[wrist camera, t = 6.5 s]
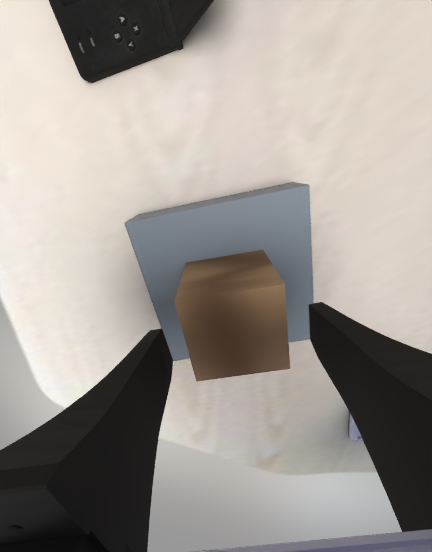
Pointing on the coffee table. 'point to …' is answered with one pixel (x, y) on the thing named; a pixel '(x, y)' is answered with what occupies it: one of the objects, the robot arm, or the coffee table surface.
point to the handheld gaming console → (123, 31)
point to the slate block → (227, 249)
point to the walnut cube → (233, 316)
